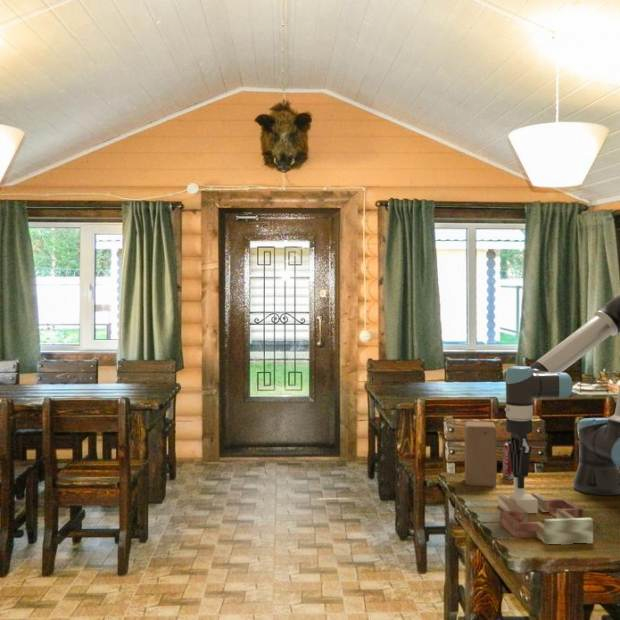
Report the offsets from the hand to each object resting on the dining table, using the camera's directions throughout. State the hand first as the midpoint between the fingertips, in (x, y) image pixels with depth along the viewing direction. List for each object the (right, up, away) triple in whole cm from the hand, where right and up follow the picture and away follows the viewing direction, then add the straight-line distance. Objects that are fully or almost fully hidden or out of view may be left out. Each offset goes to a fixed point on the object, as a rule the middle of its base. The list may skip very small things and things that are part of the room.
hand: (519, 498), depth 204 cm
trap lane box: (+1, -3, -15) cm, 15 cm away
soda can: (+8, -2, +32) cm, 33 cm away
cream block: (0, -3, -4) cm, 5 cm away
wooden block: (-5, -3, +27) cm, 28 cm away
